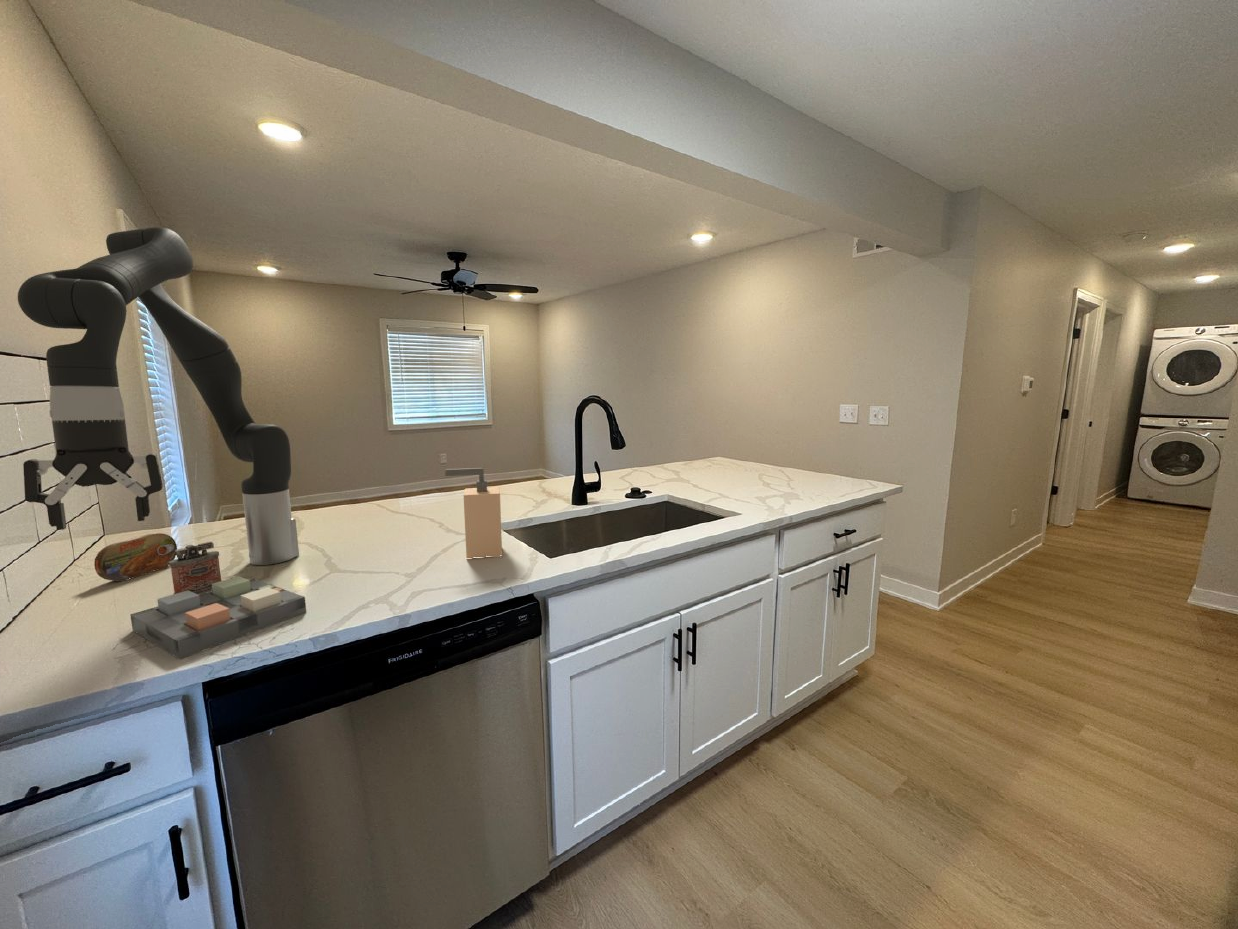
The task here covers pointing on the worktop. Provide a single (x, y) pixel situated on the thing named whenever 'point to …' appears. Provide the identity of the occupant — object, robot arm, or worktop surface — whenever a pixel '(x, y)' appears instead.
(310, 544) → the worktop surface
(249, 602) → the cream key
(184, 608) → the slate key
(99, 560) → the tin
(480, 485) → the soap dispenser
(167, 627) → the keypad
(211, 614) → the terracotta key
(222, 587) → the sage key
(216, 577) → the lighter
